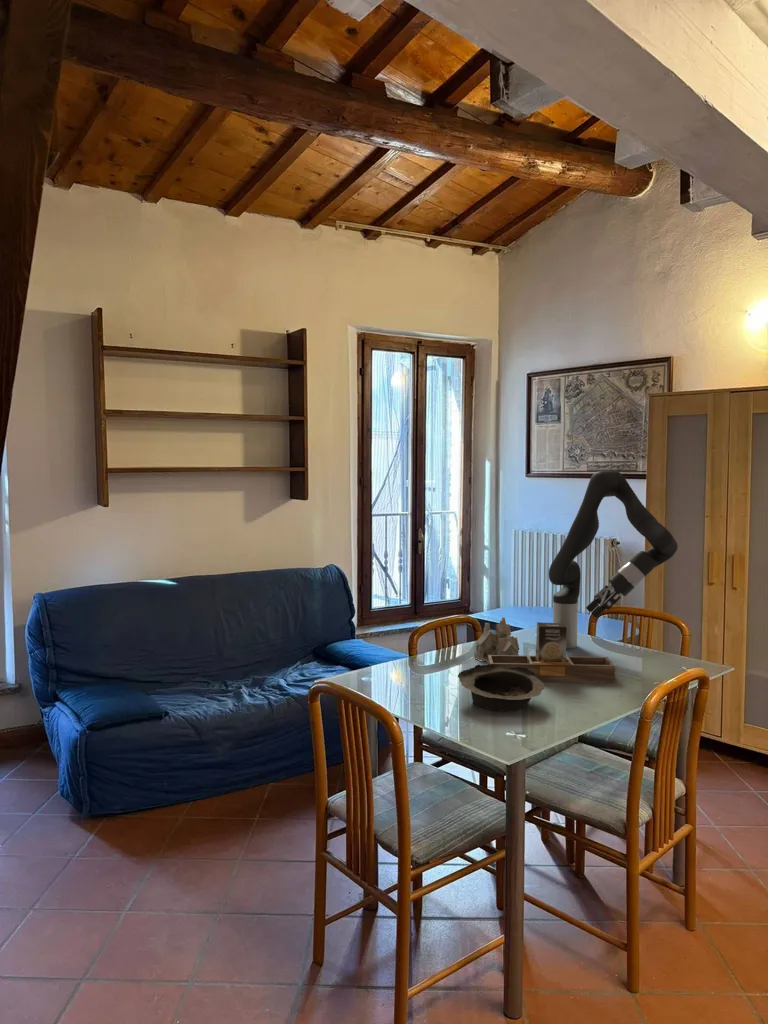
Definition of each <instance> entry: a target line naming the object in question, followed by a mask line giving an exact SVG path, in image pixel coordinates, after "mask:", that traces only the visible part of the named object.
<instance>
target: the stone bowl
mask: <svg viewBox="0 0 768 1024" xmlns="http://www.w3.org/2000/svg"><path fill="white" fill-rule="evenodd" d="M457 678H458V679H459V682H460V683H461V686H462V687H464V688H465V689H467V690H468V691H470V693H471V698H472V701H473V703H474V705H476V706H478V707H479V708H483V709H484V708H485V709H488V710H490V711H493V712H496V713H497V712H499V713H500V712H509V711H510V712H515V711H517V710H518V709H520V708H523V707H525V706H526V705H528V703H530V701H531V699H532V698H535V697H538V696H540V695H541V693H542V691H543V690H545V689H546V688H545V684H544V681H540V680H539V679H538V678H536V675H535V674H534V672H532V671H530V670H528V669H527V668H522V667H517V668H516V667H514V668H504V667H500V666H496V665H495V666H494V665H493V664H492V665H489V664H488V663H487V664H485V665H484V664H479V663H478V664H477V665H474V667H470V668H469V669H468V668H467V669H465V670H462V671H460V672H458V675H457Z"/></svg>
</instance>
